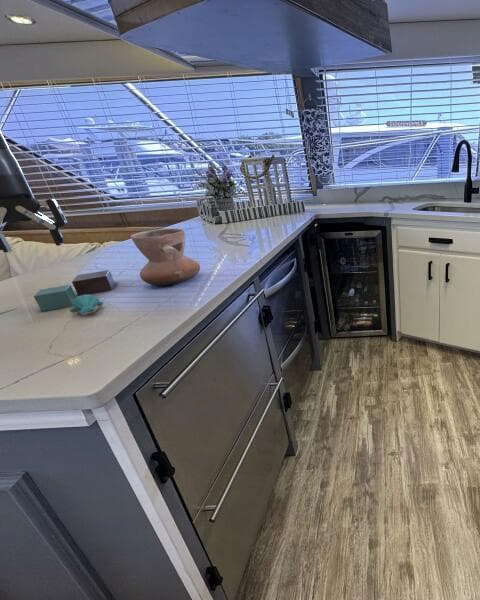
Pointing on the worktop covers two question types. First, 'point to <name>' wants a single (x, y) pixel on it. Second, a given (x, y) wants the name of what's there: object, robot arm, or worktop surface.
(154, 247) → the ceramic jug
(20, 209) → the robot arm
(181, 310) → the worktop surface
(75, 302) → the toy turtle
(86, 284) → the walnut block
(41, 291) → the green block
